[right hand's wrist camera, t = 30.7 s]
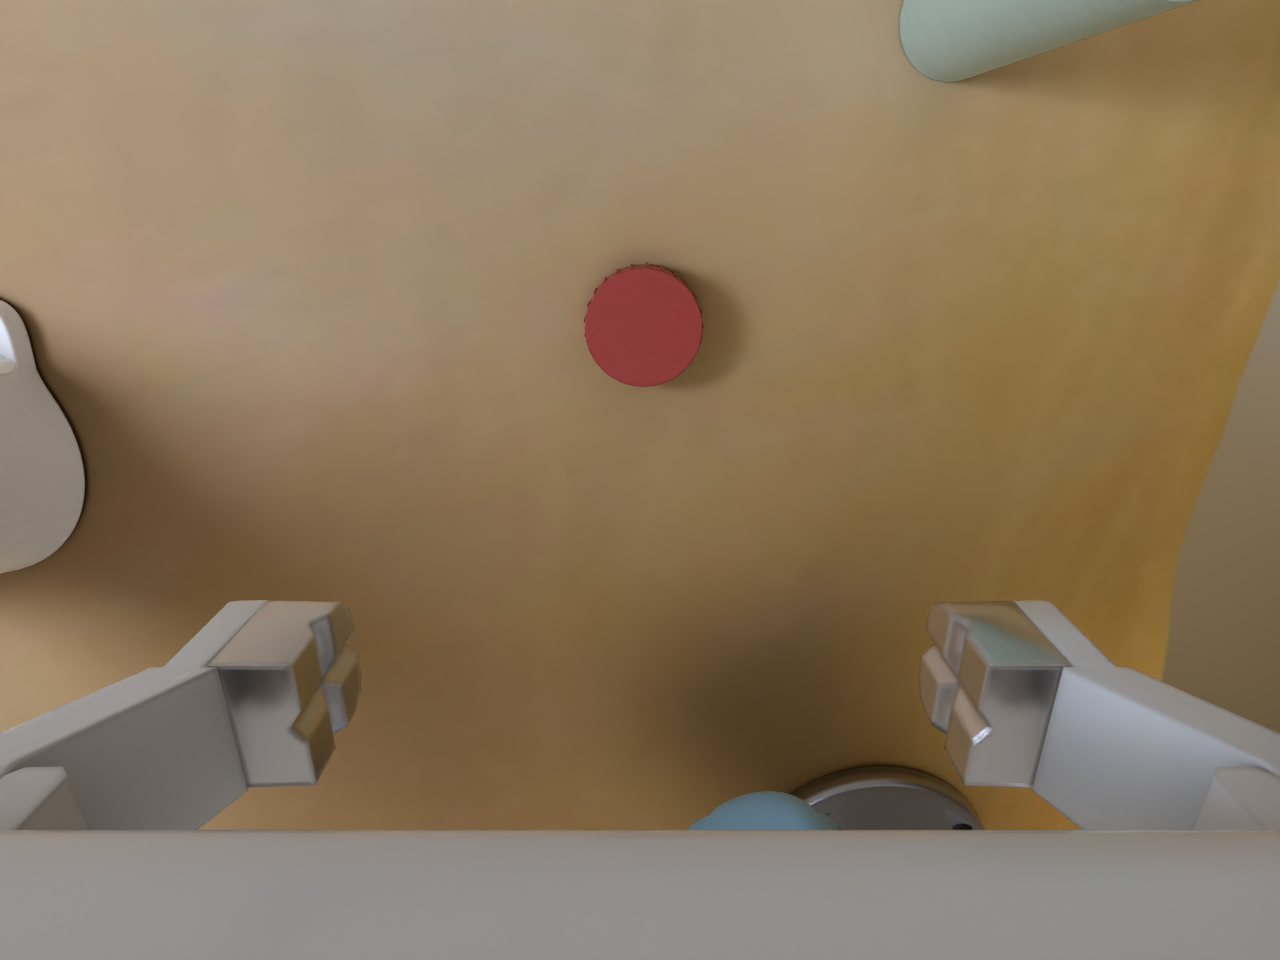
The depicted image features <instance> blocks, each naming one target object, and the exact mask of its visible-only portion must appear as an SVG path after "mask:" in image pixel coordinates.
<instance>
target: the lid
mask: <svg viewBox="0 0 1280 960" xmlns="http://www.w3.org/2000/svg"><path fill="white" fill-rule="evenodd" d="M696 299H697V298H696V296H695V294H694V293H693V294H692V292H691V291H690V289H689V288H688V284H687V282H686V281H684V282H683V281H682V280H681V279H680V278H679V277H678V276H677V275H676V273H675V272H673V273H672V272H670V271H668V270H666V269H664V268H663V267H662V266H661V265H660V267H658V266H654V265H648V263H645V265H634V266H633V264H631V266H629V267H626V268H623V269H621V270H619V269H617V271H616V272H615V273H614V274H612V275H611V276H609V277H608V278H607V277H605V279H604V281H603V283H602V284H601V285H600V286H599V288H596V289H595V291H594V296H593V298H592V300H591V301H589V303H588V305H587V307H588V311H587V315H586V317H585V319H584V322H585V337H586V341H587V345H588V347H589V351H590V352H591V354H592V357H593V358H594V360H595V361H596V363H597V364H598V365H599V366H600V368H601V369H602V370H603V371H605V372H606V373H607V374H608V375H609V376H611V377H612V378H614V379H616V380H618V381H620V382H622V383H625V384H628V385H633V386H641V387H645V386H655V385H659V384H662V383H665V382H667V381H669V380H672V379H673V378H675V377H676V376H678V375H679V374H680V373H682V372H683V371H684V370H685V369H686V368H687V367H688V366H689V364H690V363H691V362H692V360H693V359H694V357H695V356H696V353H697V351H698V348H699V346H700V343H701V338H702V328H703V324H702V317H701V313H702V311H701V309H700V307H699V306H698V304H697V302H696Z"/></svg>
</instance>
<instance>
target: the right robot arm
mask: <svg viewBox="0 0 1280 960" xmlns="http://www.w3.org/2000/svg"><path fill="white" fill-rule="evenodd" d="M84 494H85V476H84V468H83V462H82V457H81V454H80V450H79V447H78V444H77V441H76V438H75V436H74V434H73V431H72V429H71V427H70V425H69V423H68V421H67V419H66V417H65V415H64V414H63V412H62V410H61V409H60V407H59V406H58V404H57V403H56V401H55V400H54V398H53V397H52V395H51V393H50V392H49V390H48V389H47V387H46V386H45V384H44V383H43V381H42V379H41V377H40V375H39V373H38V371H37V369H36V365H35V361H34V356H33V352H32V348H31V344H30V340H29V337H28V333H27V331H26V328H25V325H24V323H23V321H22V319H21V317H20V316H19V314H18V313H17V312H16V311H15V310H14V309H13V308H12V307H11V306H10V305H8V304H7V303H5V302H4V301H2V300H0V574H1V573H5V572H10V571H14V570H19V569H22V568H25V567H29V566H31V565H33V564H36V563H38V562H40V561H42V560H44V559H45V558H47V557H48V556H50V555H51V554H53V553H54V552H55V551H56V550H57V549H59V548H60V547H61V546H62V545H63V544H64V542H65V541H66V540H67V539H68V537H69V536H70V535H71V533H72V532H73V530H74V528H75V526H76V524H77V522H78V520H79V517H80V514H81V511H82V506H83V501H84ZM353 630H354V627H353V622H352V618H351V613H350V609H349V608H348V606H347V605H346V604H345V603H344V602H327V601H275V600H274V601H270V600H238V601H233V602H228V603H227V604H226V605H225V606H224V607H223V608H222V609H221V610H220V611H219V612H218V613H217V614H216V615H215V616H214V617H213V618H212V619H211V620H210V621H209V622H208V623H207V624H206V625H205V626H204V627H203V628H202V629H201V630H200V631H199V632H198V633H197V634H196V635H195V636H194V637H193V638H192V639H191V640H190V641H189V642H188V643H187V644H186V645H185V646H184V647H183V648H182V649H181V650H180V651H179V652H178V653H177V654H176V655H175V656H174V657H173V658H172V659H171V660H170V661H169V662H168V663H167V664H166V665H165V666H164V667H150V668H148V669H146V670H143V671H141V672H139V673H136V674H134V675H132V676H130V677H127V678H125V679H123V680H120V681H118V682H116V683H114V684H111V685H109V686H107V687H104V688H102V689H100V690H98V691H95V692H93V693H91V694H88V695H86V696H84V697H82V698H79V699H77V700H75V701H72V702H70V703H68V704H66V705H63V706H61V707H59V708H56V709H54V710H52V711H50V712H47V713H45V714H43V715H40V716H38V717H36V718H34V719H31V720H29V721H27V722H25V723H22V724H20V725H18V726H15V727H13V728H11V729H9V730H6V731H4V732H2V733H0V960H1280V733H1278V732H1276V731H1273V730H1271V729H1269V728H1267V727H1264V726H1262V725H1260V724H1257V723H1255V722H1253V721H1250V720H1248V719H1246V718H1244V717H1241V716H1239V715H1237V714H1235V713H1232V712H1230V711H1228V710H1225V709H1223V708H1221V707H1219V706H1216V705H1214V704H1212V703H1210V702H1207V701H1205V700H1203V699H1200V698H1198V697H1196V696H1194V695H1191V694H1189V693H1187V692H1185V691H1182V690H1180V689H1178V688H1175V687H1173V686H1171V685H1169V684H1166V683H1164V682H1162V681H1159V680H1157V679H1155V678H1153V677H1150V676H1148V675H1146V674H1144V673H1141V672H1139V671H1137V670H1134V669H1132V668H1130V667H1116V666H1115V665H1114V664H1113V663H1112V662H1111V661H1110V660H1109V659H1108V658H1107V657H1106V656H1105V655H1104V654H1103V653H1102V652H1101V651H1100V650H1099V649H1098V648H1097V647H1096V646H1095V645H1094V644H1093V643H1092V642H1091V641H1090V640H1089V639H1088V638H1087V637H1086V636H1085V635H1084V634H1083V633H1082V632H1081V631H1080V630H1079V629H1078V628H1077V627H1076V626H1075V625H1074V624H1073V623H1072V622H1071V621H1070V620H1069V619H1068V618H1067V617H1066V616H1065V615H1064V614H1063V613H1062V612H1061V611H1060V610H1059V609H1058V608H1057V607H1056V606H1055V605H1054V604H1053V603H1051V602H1048V601H1045V600H1021V601H984V602H943V603H934V604H933V606H932V608H931V610H930V612H929V616H928V621H927V627H926V630H927V632H928V633H929V635H930V636H931V638H932V640H933V641H934V644H933V645H932V646H931V647H930V649H929V650H928V651H927V652H926V653H925V654H924V655H923V656H922V657H921V664H920V672H919V686H920V697H921V700H922V704H923V707H924V710H925V713H926V715H927V717H928V719H929V720H930V722H931V724H932V725H933V726H935V727H936V728H938V729H939V730H941V731H942V732H944V733H945V734H947V737H946V742H945V750H946V752H947V754H948V755H949V757H950V759H951V761H952V763H953V764H954V766H955V768H956V770H957V772H958V773H959V775H960V777H961V779H962V781H963V782H964V784H965V785H972V786H1009V787H1033V788H1032V791H1034V792H1035V793H1036V794H1038V795H1039V796H1040V797H1041V798H1043V799H1044V800H1045V801H1047V802H1048V803H1049V804H1050V805H1052V806H1053V807H1054V808H1056V809H1057V810H1058V811H1059V812H1061V813H1062V814H1063V815H1065V816H1066V817H1067V818H1068V819H1070V820H1071V821H1072V822H1074V823H1075V824H1076V825H1077V826H1079V827H1080V828H1081V829H1083V830H198V829H199V828H200V827H202V826H203V825H204V824H205V823H207V822H208V821H209V820H211V819H212V818H213V817H214V816H216V815H217V814H218V813H220V812H221V811H222V810H223V809H225V808H226V807H227V806H229V805H230V804H231V803H232V802H234V801H235V800H236V799H238V798H239V797H240V796H241V795H243V794H244V793H245V792H247V791H248V788H247V787H270V786H306V785H315V784H316V783H317V781H318V779H319V777H320V775H321V774H322V772H323V770H324V768H325V766H326V764H327V763H328V761H329V759H330V757H331V755H332V754H333V752H334V750H335V742H334V737H333V734H335V733H336V732H338V731H339V730H341V729H342V728H344V727H345V726H347V725H348V724H349V722H350V720H351V718H352V716H353V715H354V713H355V711H356V708H357V703H358V699H359V694H360V690H361V670H360V663H359V657H358V656H357V655H356V654H355V653H354V652H353V651H352V650H351V649H350V648H349V646H348V645H347V644H346V641H347V640H348V638H349V636H350V635H351V633H352V632H353Z"/></svg>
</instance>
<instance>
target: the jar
mask: <svg viewBox="0 0 1280 960" xmlns="http://www.w3.org/2000/svg"><path fill="white" fill-rule="evenodd" d="M1195 1H1198V0H904V2H903V5H902V9H901V14H900V38H901V42H902V46H903V49H904V52H905V54H906V56H907V58H908V59H909V61H910V62H911V64H912V65H913V66H914V67H915V68H916V69H917V70H918V71H919V72H920V73H922V74H923V75H924V76H926V77H928V78H930V79H933V80H936V81H942V82H955V81H960V80H964V79H967V78H970V77H973V76H976V75H979V74H982V73H985V72H988V71H991V70H994V69H997V68H1000V67H1003V66H1006V65H1009V64H1012V63H1014V62H1017V61H1020V60H1023V59H1026V58H1029V57H1032V56H1035V55H1038V54H1041V53H1044V52H1047V51H1050V50H1053V49H1056V48H1059V47H1062V46H1065V45H1068V44H1071V43H1074V42H1077V41H1079V40H1082V39H1085V38H1088V37H1091V36H1094V35H1097V34H1100V33H1103V32H1106V31H1109V30H1112V29H1115V28H1118V27H1121V26H1124V25H1127V24H1130V23H1133V22H1136V21H1139V20H1142V19H1145V18H1147V17H1150V16H1153V15H1156V14H1159V13H1162V12H1165V11H1168V10H1171V9H1174V8H1177V7H1180V6H1183V5H1186V4H1189V3H1192V2H1195Z"/></svg>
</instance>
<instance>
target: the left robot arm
mask: <svg viewBox="0 0 1280 960" xmlns="http://www.w3.org/2000/svg"><path fill="white" fill-rule="evenodd" d="M686 830H984V828H983V826H982V824H981V822H980V821H979V819H978V817H977V815H976V813H975V811H974V810H973V808H972V807H971V805H970V804H969V803H968V801H967V800H966V799H965V798H964V797H963V796H962V795H961V794H960V793H959V792H958V791H957V790H955V789H954V788H953V787H951V786H950V785H948V784H947V783H945V782H943V781H942V780H940V779H937V778H935V777H933V776H931V775H928V774H925V773H922V772H919V771H915V770H911V769H906V768H900V767H889V766H872V767H861V768H854V769H849V770H844V771H840V772H836V773H833V774H830V775H827V776H824V777H822V778H819V779H817V780H815V781H813V782H810V783H808V784H806V785H805V786H803V787H801V788H800V789H798V790H796V791H795V792H793V793H792V794H787V793H783V792H776V791H760V792H753V793H748V794H745V795H741V796H739V797H736V798H733V799H731V800H729V801H726V802H724V803H723V804H721V805H719V806H718V807H717V808H716V809H715V810H713V811H712V812H711V813H710V814H708V815H707V816H705V817H703V818H699V819H698V820H697V821H696V822H694V823H693V824H692V825H691V826H690V827H689V828H688V829H686Z"/></svg>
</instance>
